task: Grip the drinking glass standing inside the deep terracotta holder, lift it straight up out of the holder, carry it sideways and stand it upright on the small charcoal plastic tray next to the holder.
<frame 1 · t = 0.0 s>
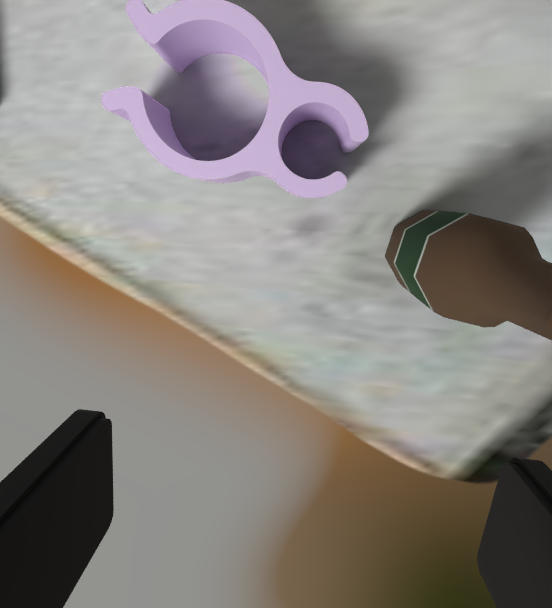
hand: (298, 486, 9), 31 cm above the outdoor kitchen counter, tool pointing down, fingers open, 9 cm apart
clip: (248, 124, 37), on the outdoor kitchen counter
beer bottle: (422, 250, 39), on the outdoor kitchen counter
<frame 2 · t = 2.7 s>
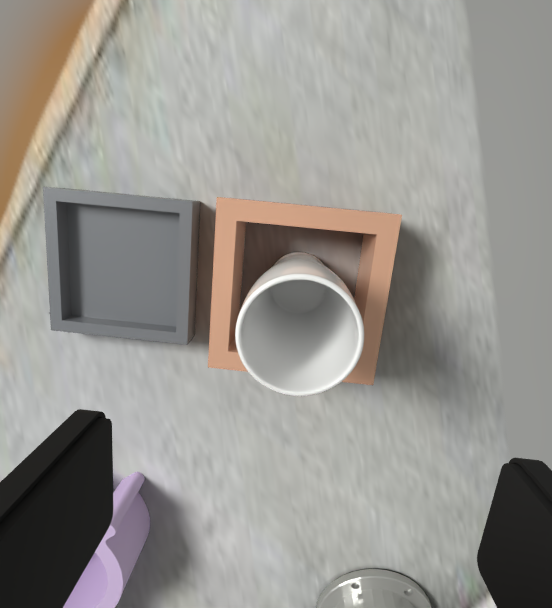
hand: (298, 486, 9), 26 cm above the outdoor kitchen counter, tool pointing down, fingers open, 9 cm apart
charcoal tray: (130, 264, 35), on the outdoor kitchen counter
terracotta holder: (298, 281, 34), on the outdoor kitchen counter
clip: (89, 532, 43), on the outdoor kitchen counter
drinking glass: (298, 281, 35), resting in terracotta holder
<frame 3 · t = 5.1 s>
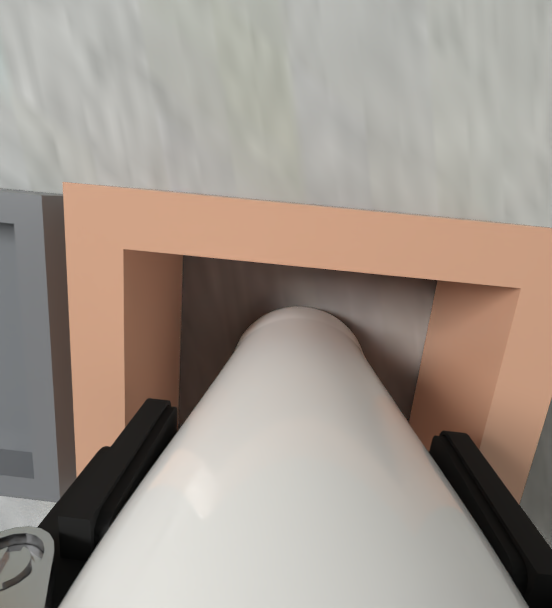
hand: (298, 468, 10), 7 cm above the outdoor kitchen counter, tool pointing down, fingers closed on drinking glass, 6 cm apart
terracotta holder: (298, 364, 16), on the outdoor kitchen counter
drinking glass: (298, 362, 17), resting in terracotta holder, touching gripper
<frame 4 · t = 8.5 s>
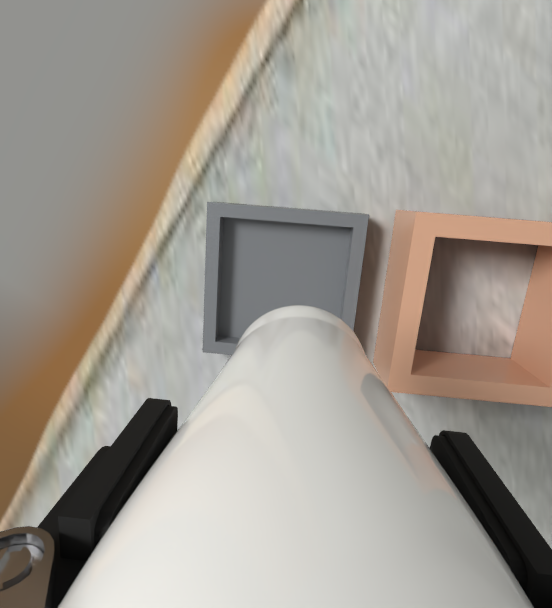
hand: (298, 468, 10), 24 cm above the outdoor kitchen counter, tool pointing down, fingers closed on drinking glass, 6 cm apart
charcoal tray: (282, 281, 33), on the outdoor kitchen counter
terracotta holder: (462, 296, 32), on the outdoor kitchen counter
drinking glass: (298, 360, 17), point 17 cm above the outdoor kitchen counter, touching gripper
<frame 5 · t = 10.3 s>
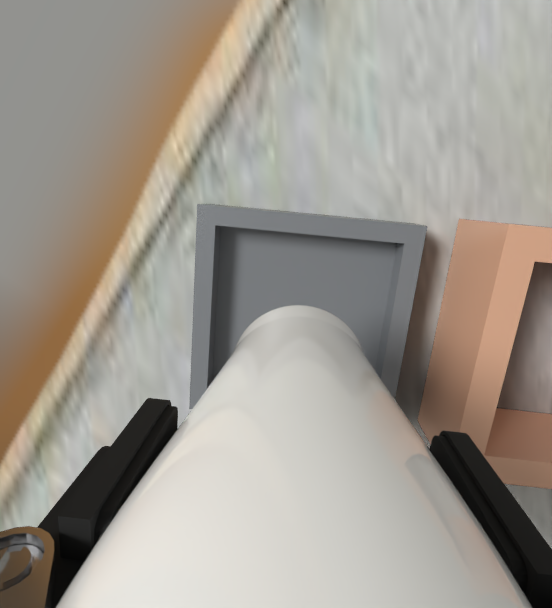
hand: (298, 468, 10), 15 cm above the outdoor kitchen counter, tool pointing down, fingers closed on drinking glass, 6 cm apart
charcoal tray: (299, 312, 24), on the outdoor kitchen counter
terracotta holder: (544, 337, 24), on the outdoor kitchen counter
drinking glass: (298, 360, 17), point 8 cm above the outdoor kitchen counter, touching gripper
when the fingers open (9 cm above the outdoor kitchen counter, at t = 11.9 s): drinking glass drops 1 cm, resting on charcoal tray.
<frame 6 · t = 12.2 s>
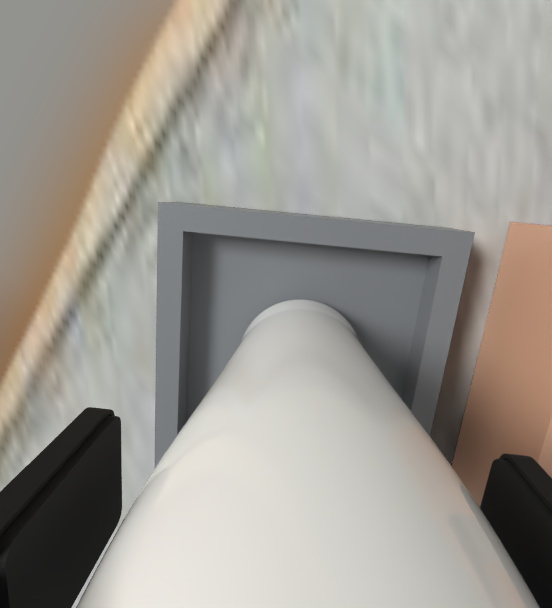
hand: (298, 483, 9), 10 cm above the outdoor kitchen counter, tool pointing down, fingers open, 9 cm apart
charcoal tray: (297, 342, 19), on the outdoor kitchen counter
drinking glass: (299, 351, 18), point 1 cm above the outdoor kitchen counter, touching charcoal tray
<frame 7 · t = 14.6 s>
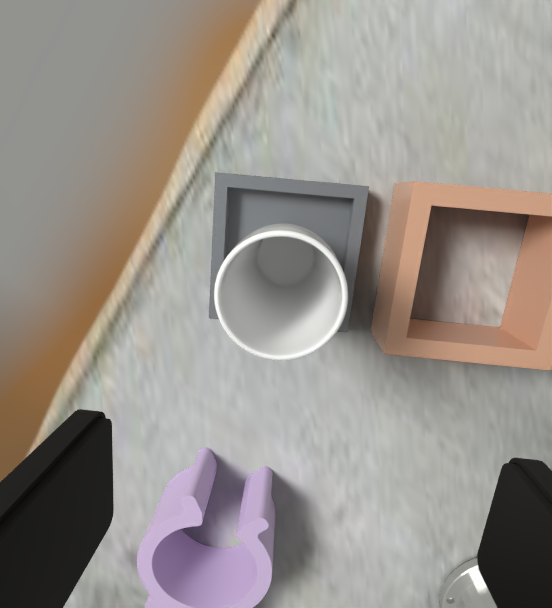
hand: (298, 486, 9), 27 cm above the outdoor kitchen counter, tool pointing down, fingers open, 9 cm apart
charcoal tray: (285, 251, 35), on the outdoor kitchen counter
terracotta holder: (456, 267, 34), on the outdoor kitchen counter
clip: (211, 527, 44), on the outdoor kitchen counter
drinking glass: (286, 254, 34), point 1 cm above the outdoor kitchen counter, touching charcoal tray
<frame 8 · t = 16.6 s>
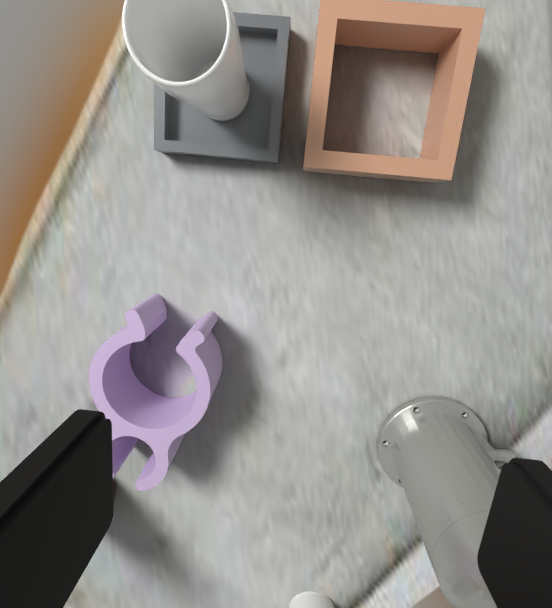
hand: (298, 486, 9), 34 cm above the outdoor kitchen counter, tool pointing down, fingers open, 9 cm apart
foam cup: (311, 607, 55), on the outdoor kitchen counter
charcoal tray: (223, 93, 39), on the outdoor kitchen counter
terracotta holder: (376, 107, 38), on the outdoor kitchen counter
clip: (165, 378, 47), on the outdoor kitchen counter
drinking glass: (223, 92, 38), point 1 cm above the outdoor kitchen counter, touching charcoal tray
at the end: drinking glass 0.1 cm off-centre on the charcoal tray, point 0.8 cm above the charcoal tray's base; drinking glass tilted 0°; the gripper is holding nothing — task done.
